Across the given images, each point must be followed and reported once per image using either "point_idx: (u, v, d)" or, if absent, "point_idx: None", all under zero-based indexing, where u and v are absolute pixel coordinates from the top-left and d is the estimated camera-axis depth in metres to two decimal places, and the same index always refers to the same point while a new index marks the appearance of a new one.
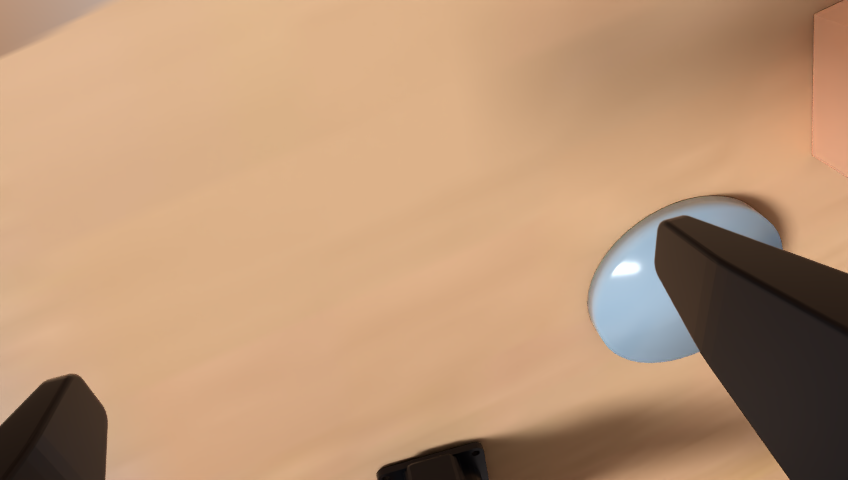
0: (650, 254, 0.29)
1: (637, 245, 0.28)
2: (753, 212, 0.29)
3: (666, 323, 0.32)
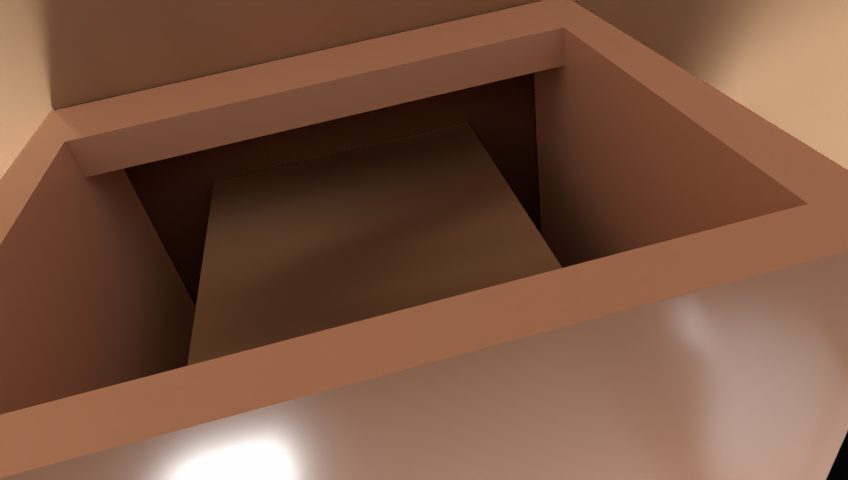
0: None
1: None
2: None
3: None
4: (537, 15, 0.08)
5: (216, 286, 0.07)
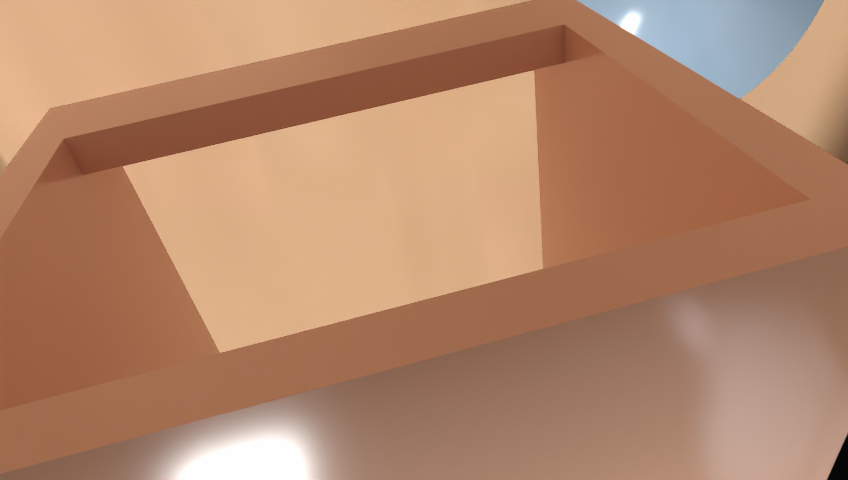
0: None
1: None
2: None
3: (736, 20, 0.20)
4: (537, 12, 0.08)
5: None
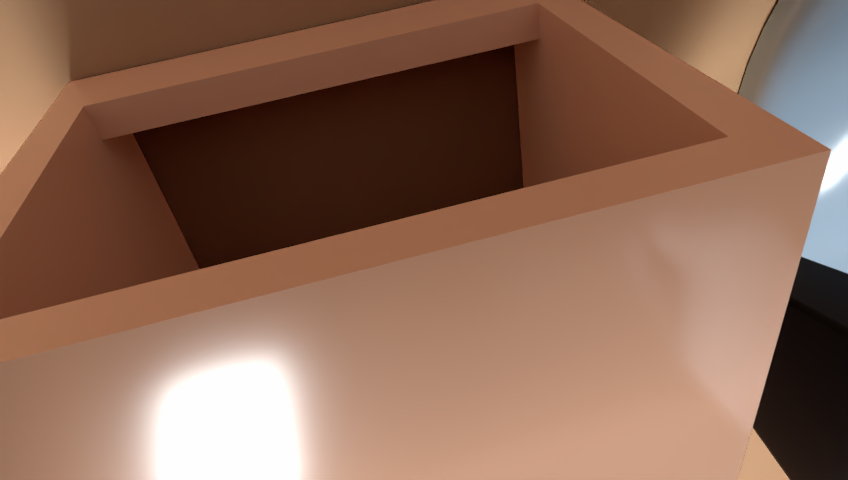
0: (819, 206, 0.12)
1: None
2: None
3: None
4: None
5: None
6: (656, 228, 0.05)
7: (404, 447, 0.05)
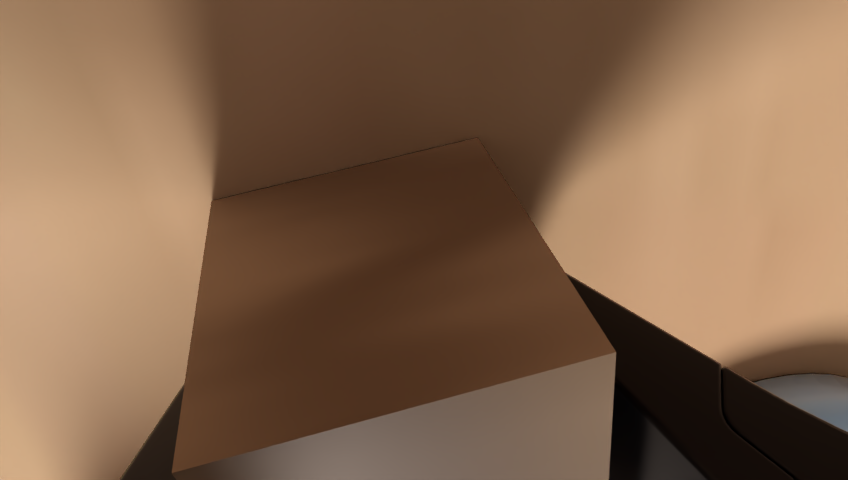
0: None
1: None
2: None
3: None
4: None
5: (212, 320, 0.07)
6: None
7: None
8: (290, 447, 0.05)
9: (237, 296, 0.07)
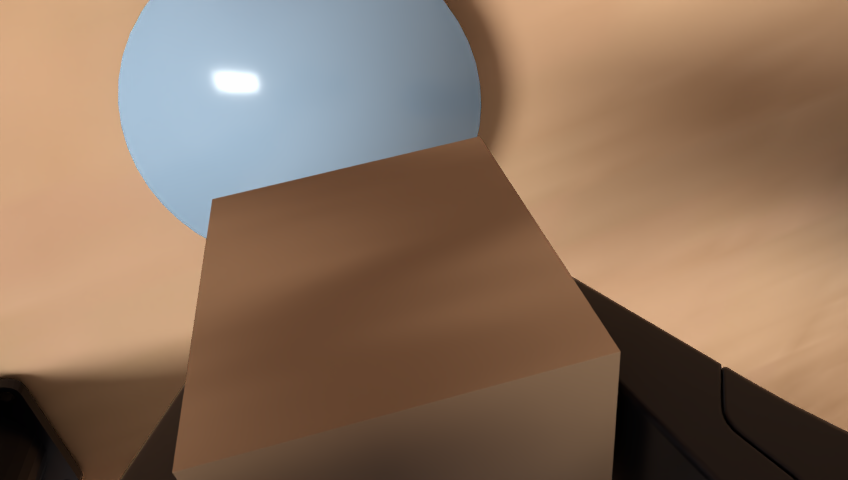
0: (194, 18, 0.15)
1: None
2: None
3: None
4: None
5: (213, 319, 0.07)
6: None
7: None
8: (293, 448, 0.05)
9: (238, 295, 0.07)
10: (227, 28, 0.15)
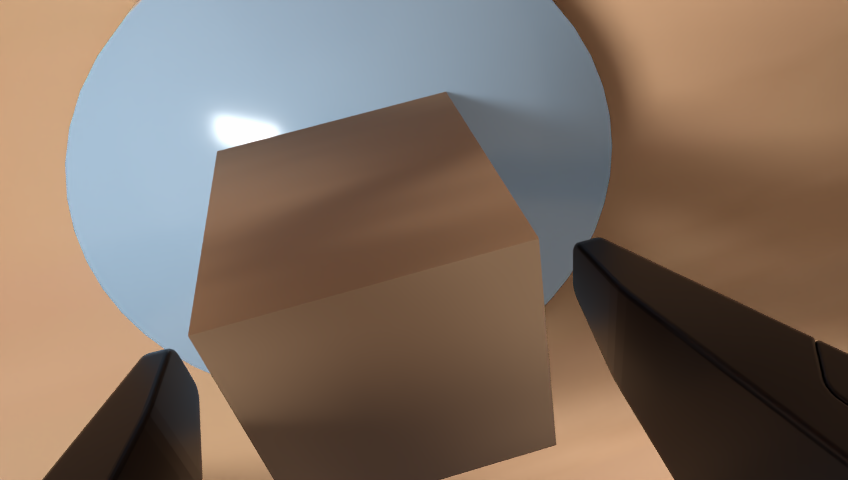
0: (209, 42, 0.09)
1: None
2: None
3: None
4: None
5: (218, 236, 0.08)
6: None
7: None
8: (279, 317, 0.07)
9: (239, 218, 0.08)
10: (260, 62, 0.09)
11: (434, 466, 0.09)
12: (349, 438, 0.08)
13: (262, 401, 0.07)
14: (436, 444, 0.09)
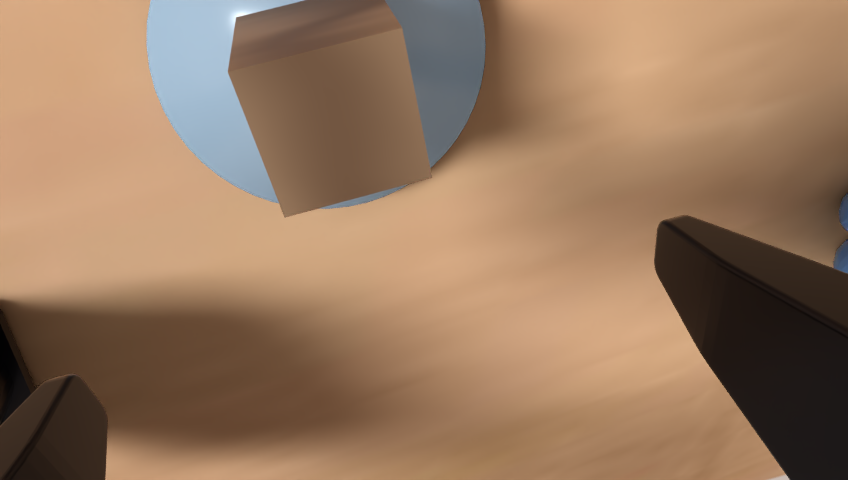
0: None
1: None
2: None
3: None
4: None
5: (240, 44, 0.15)
6: None
7: None
8: (273, 65, 0.13)
9: (250, 37, 0.15)
10: None
11: (360, 184, 0.16)
12: (310, 154, 0.15)
13: (263, 120, 0.14)
14: (361, 166, 0.15)
